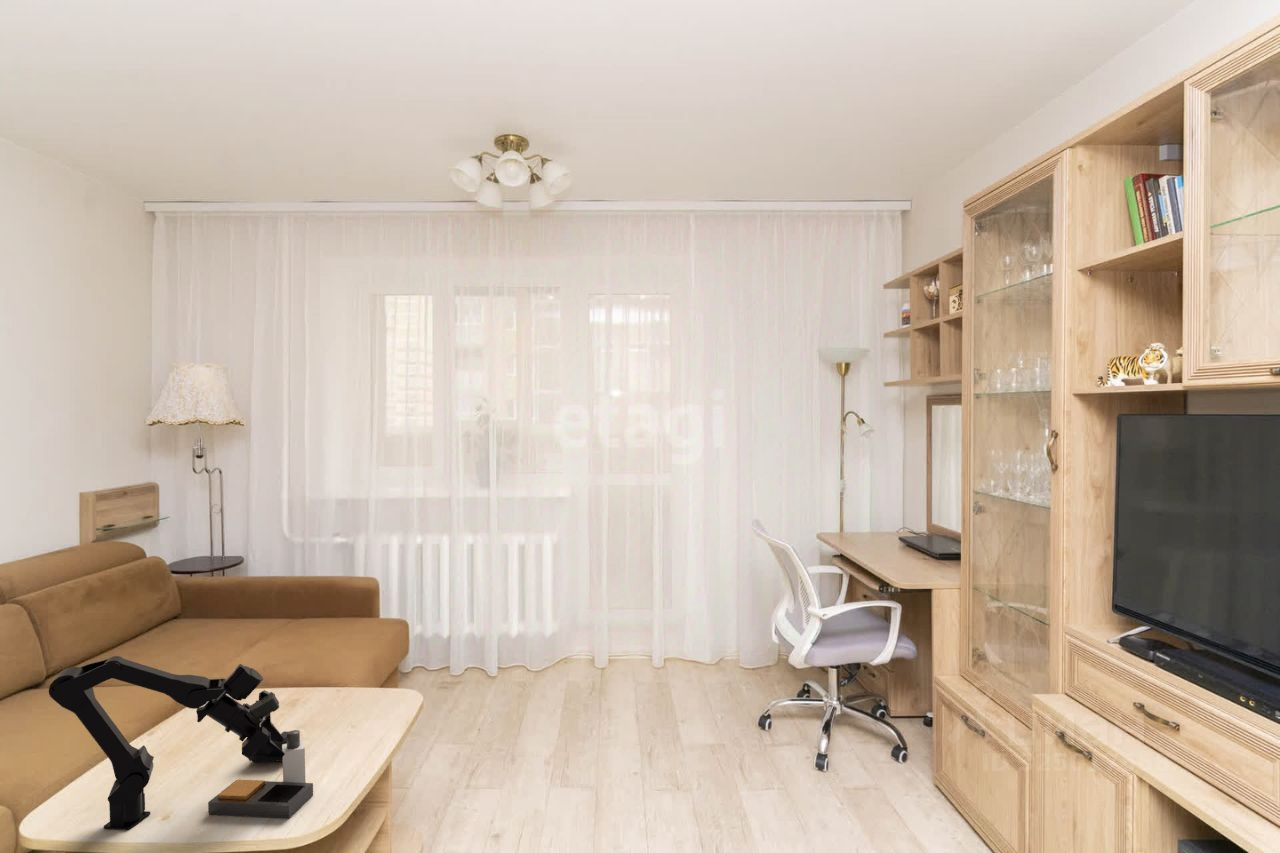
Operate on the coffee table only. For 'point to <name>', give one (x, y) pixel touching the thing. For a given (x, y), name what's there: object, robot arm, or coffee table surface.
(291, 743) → the white soap bottle
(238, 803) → the two-compartment sponge tray
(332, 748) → the coffee table surface
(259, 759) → the end cap
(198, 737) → the coffee table surface
